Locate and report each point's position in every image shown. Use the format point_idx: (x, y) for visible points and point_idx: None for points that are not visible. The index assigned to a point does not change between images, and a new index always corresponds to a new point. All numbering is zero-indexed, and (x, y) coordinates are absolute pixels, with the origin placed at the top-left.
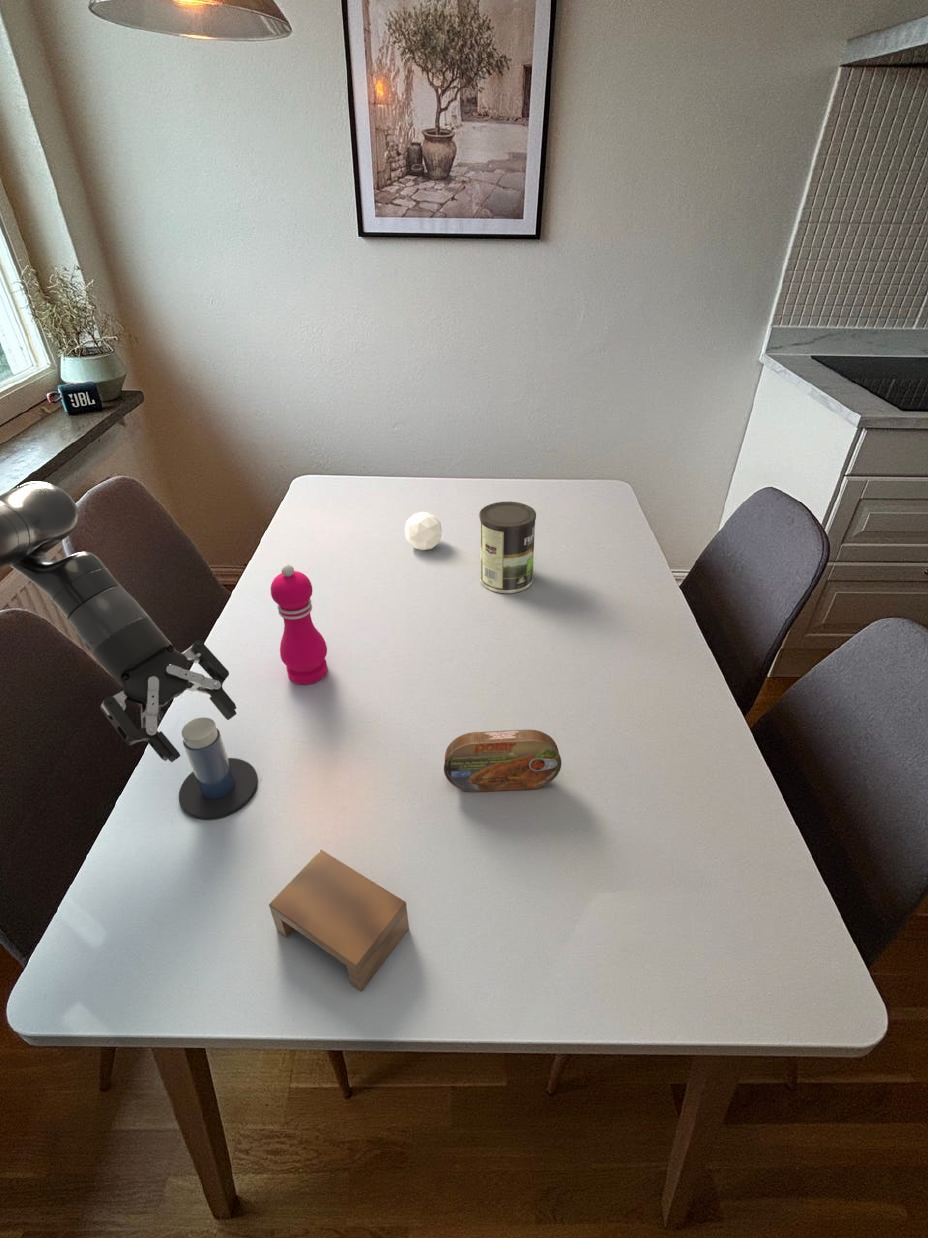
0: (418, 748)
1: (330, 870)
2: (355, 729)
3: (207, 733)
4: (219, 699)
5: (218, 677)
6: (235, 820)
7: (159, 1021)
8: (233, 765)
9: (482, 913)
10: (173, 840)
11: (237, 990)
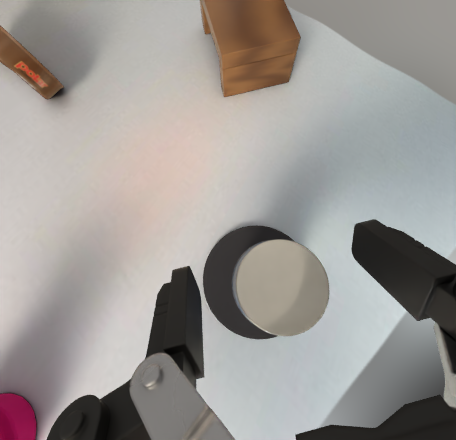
0: (42, 163)
1: (229, 31)
2: (62, 244)
3: (270, 247)
4: (185, 314)
5: (114, 427)
6: (263, 216)
7: (400, 76)
8: (222, 300)
9: (154, 7)
10: (336, 240)
11: (337, 62)
